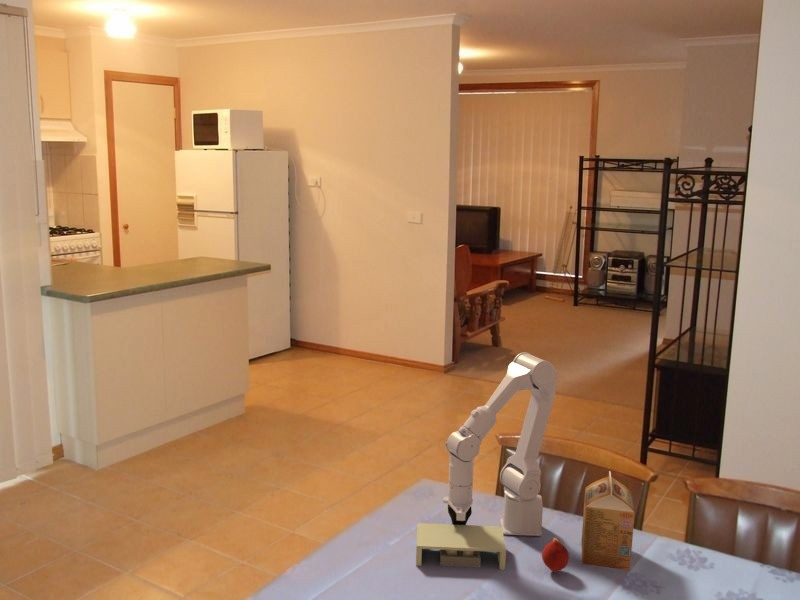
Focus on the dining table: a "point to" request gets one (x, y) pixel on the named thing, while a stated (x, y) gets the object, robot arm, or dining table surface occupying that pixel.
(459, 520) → the robot arm
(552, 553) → the onion
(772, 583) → the dining table surface
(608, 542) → the milk carton
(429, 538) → the bench
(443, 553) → the tray
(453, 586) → the dining table surface
